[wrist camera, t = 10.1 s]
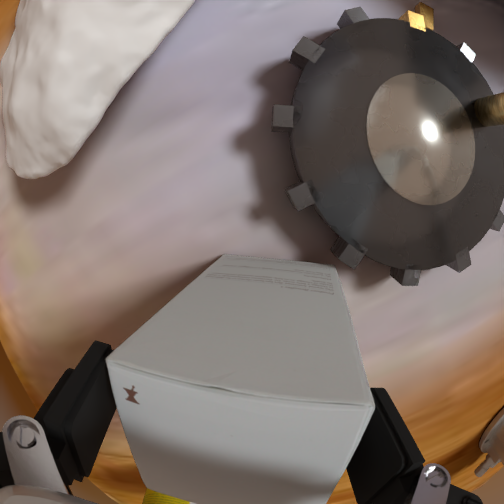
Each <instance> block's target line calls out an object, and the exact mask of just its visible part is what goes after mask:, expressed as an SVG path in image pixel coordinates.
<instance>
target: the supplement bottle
mask: <svg viewBox="0 0 504 504" xmlns="http://www.w3.org/2000/svg"><path fill="white" fill-rule="evenodd" d="M142 504H196V503H193V502H189V501H186V500H182V499H179V498H175V497H172V496H169V495H166V494H162V493H159V492H156V491H153V490H151V489H149V488H147V489H146V493H145V496H144V499H143V503H142Z"/></svg>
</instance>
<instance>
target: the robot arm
mask: <svg viewBox="0 0 504 504" xmlns="http://www.w3.org/2000/svg"><path fill="white" fill-rule="evenodd" d="M113 351H114V350H112V349H111V345H109V344H106V343H102V342H99V341H94V342H93V344H92V345H91V347H90V348H89V350H88V351H87V352H86V354H85V355H84V357H83V358H82V360H81V361H80V362H79V364H78V365H77V367H76V368H75V370H74V369H71V368H69V369H67V370H66V371H65V372H64V374H63V375H62V377H61V378H60V380H59V381H58V383H57V384H56V385H55V387H54V388H53V390H52V391H51V393H50V394H49V396H48V397H47V399H46V400H45V402H44V403H43V405H42V406H41V408H40V409H39V411H38V412H37V414H36V416H35V417H34V419H33V418H31V417H27V416H15V417H12V418H11V419H9V420H8V421H7V422H6V423H5V424H4V427H3V432H0V504H97V503H94V502H91V501H87V500H84V499H81V498H79V497H75V496H73V494H72V492H71V489H70V488H69V485H72V482H73V480H74V479H75V480H77V481H80V482H82V480H83V477H84V476H85V477H89V475H90V473H91V470H92V467H93V465H94V462H95V460H96V457H97V454H98V452H99V449H100V447H101V444H102V442H103V439H104V437H105V434H106V432H107V429H108V427H109V425H110V422H111V420H112V417H113V415H114V413H115V410H116V403H115V399H114V395H113V392H112V387H111V383H110V377H109V372H108V368H107V364H106V360H105V359H106V358H107V357H108V356H109V355H110V354H111V353H112V352H113ZM370 390H371V393H372V396H373V400H374V403H375V410H374V412H373V414H372V417H371V419H370V421H369V423H368V425H367V427H366V429H365V431H364V434H363V436H362V438H361V440H360V442H359V444H358V446H357V448H356V450H355V452H354V454H353V456H352V458H351V460H350V462H349V463H348V465H347V467H346V469H347V472H348V475H349V478H350V482H351V485H352V488H353V491H354V495H355V498H356V501H357V503H358V504H483V503H482V501H481V499H480V498H479V497H478V496H477V495H475V494H473V493H470V492H468V491H466V490H463V489H461V488H458V487H456V486H454V485H452V484H450V483H451V478H450V474H449V473H448V471H447V470H446V469H445V468H444V467H443V466H441V465H439V464H435V463H433V464H428V465H426V466H425V467H424V466H423V463H424V462H425V460H424V458H423V456H422V454H421V452H420V450H419V448H418V447H417V445H416V443H415V441H414V439H413V437H412V436H411V434H410V432H409V430H408V428H407V426H406V425H405V423H404V421H403V419H402V417H401V416H400V414H399V412H398V410H397V409H396V407H395V405H394V403H393V402H392V400H391V398H390V396H389V395H388V393H387V391H386V390H385V389H384V388H370ZM479 448H480V449H481V451H482V452H484V453H488V454H487V455H486V459H485V460H484V461H483V462H482V463H481V464H480V465H479V466H478V467H477V468H476V469H475V471H474V472H475V475H476V476H478V477H481V476H482V475H483V474H484V473H485V472H486V471H487V470H488V469H489V467H491V468H493V467H494V466H495V465H496V464H497V463H499V462H502V464H503V465H504V408H503V409H502V410H501V411H500V412H499V413H498V415H497V416H496V417H495V418H494V419H493V421H492V422H491V423H490V424H489V426H488V427H487V429H486V430H485V432H484V433H483V435H482V437H481V439H480V442H479Z"/></svg>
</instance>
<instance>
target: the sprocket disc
mask: <svg viewBox="0 0 504 504" xmlns="http://www.w3.org/2000/svg"><path fill="white" fill-rule="evenodd" d="M337 25H338V26H339V27H340V30H338V31H336V32H335V33H334V34H332V35H331V36H330V37H328V38H327V39H326V40H325V41H324V42H323V43H322V44H321V45H318V44H316V43H315V42H313V41H311V40H309V39H308V38H306V37H304V36H303V38H302V39H301V40H300V41H299V43H298V44H297V45H296V47H295V48H294V49H293V51H292V54H291V58H290V61H289V63H291V64H293V65H294V66H296V67H298V68H299V69H301V70H303V72H302V75H301V77H300V79H299V82H298V84H297V86H296V89H295V91H294V95H293V99H292V103H291V106H289V105H275V104H274V107H273V111H272V131H273V132H288V133H289V138H290V146H291V152H292V158H293V161H294V165H295V168H296V172H297V175H298V177H299V180H300V182H298V183H296V184H294V185H292V186H290V187H288V188H286V189H285V191H286V193H287V195H288V197H289V199H290V201H291V203H292V205H293V207H294V208H295V209H296V210H297V211H300V210H302V209H304V208H306V207H308V206H310V205H313V207H314V208H315V210H316V211H317V212H318V214H319V215H320V216H321V218H322V219H323V220H324V221H325V222H326V223H327V224H328V225H329V227H330V228H331V229H332V230H333V231H334V232H335V233H337V234H338V235H339V238H338V239H337V241H336V242H335V244H334V245H333V247H332V248H331V249H330V250H331V251H332V252H333V254H334V255H335V256H336V257H337V258H338V259H339V260H341V261H342V262H344V263H345V264H347V265H348V266H349V267H351V268H352V269H354V270H355V268H356V267H357V265H358V264H359V262H360V261H361V260H362V258H363V257H364V255H366V256H367V257H369V258H371V259H373V260H375V261H377V262H380V263H382V264H384V265H388V266H391V270H390V276H391V277H393V278H394V279H395V280H396V281H397V282H399V283H400V284H401V285H402V286H418V283H419V278H420V273H421V270H426V269H431V268H436V267H440V266H443V265H447V266H449V267H450V268H452V269H454V270H455V271H457V272H459V273H460V272H461V271H463V270H464V269H465V268H467V267H468V266H470V265H471V260H470V255H469V251H470V250H471V249H472V248H473V247H474V246H475V245H476V244H477V243H478V242H479V241H480V240H481V239H482V238H483V237H484V235H485V234H486V233H487V231H488V230H489V229H493V230H496V231H500V229H501V227H502V225H503V223H504V215H503V213H502V212H501V211H500V207H501V205H502V201H503V198H504V92H503V93H499V94H495V95H494V94H493V92H492V91H491V89H490V87H489V85H488V84H487V82H486V80H485V79H484V77H483V76H482V74H481V73H480V72H479V70H478V69H477V67H476V66H475V65H474V64H473V63H472V62H473V60H474V57H475V55H476V54H475V53H474V52H473V51H472V50H471V49H470V48H469V47H468V46H467V45H466V44H465V43H462V44H460V45H458V46H455V45H453V44H452V43H451V42H449V41H448V40H447V39H445V38H444V37H442V36H441V35H439V34H437V33H435V32H434V31H432V30H430V29H427V28H425V23H424V17H423V16H422V15H420V14H417V13H414V12H411V11H408V10H407V11H406V12H405V13H404V14H403V15H402V16H401V17H400V18H399V19H398V20H397V19H390V18H377V19H369V18H368V16H367V15H366V14H365V12H364V11H363V9H362V8H361V7H357V8H353V9H348V10H345V11H344V12H343V14H342V16H341V18H340V20H339V21H338V23H337Z"/></svg>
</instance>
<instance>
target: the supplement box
mask: <svg viewBox="0 0 504 504" xmlns="http://www.w3.org/2000/svg"><path fill="white" fill-rule="evenodd" d="M105 360H106V364H107V368H108V372H109V377H110V383H111V387H112V392H113V395H114V399H115V403H116V407H117V410H118V413H119V417H120V420H121V423H122V426H123V429H124V432H125V435H126V438H127V441H128V444H129V446H130V449H131V452H132V455H133V457H134V460H135V463H136V465H137V468H138V470H139V473H140V475H141V478H142V480H143V482H144V484H145V486H146V487H147V488H149V489H151V490H153V491H156V492H159V493H162V494H166V495H169V496H172V497H175V498H179V499H182V500H186V501H189V502H193V503H196V504H326V503H327V501H328V499H329V497H330V495H331V494H332V492H333V490H334V488H335V486H336V485H337V483H338V481H339V480H340V478H341V476H342V474H343V473H344V471H345V469H346V467H347V465H348V463H349V462H350V460H351V458H352V456H353V454H354V452H355V450H356V448H357V446H358V444H359V442H360V440H361V438H362V436H363V434H364V431H365V429H366V427H367V425H368V423H369V421H370V419H371V417H372V414H373V412H374V410H375V403H374V400H373V396H372V393H371V390H370V387H369V383H368V380H367V376H366V373H365V369H364V365H363V361H362V357H361V354H360V350H359V346H358V342H357V338H356V334H355V330H354V327H353V323H352V319H351V316H350V312H349V309H348V305H347V302H346V298H345V295H344V292H343V288H342V285H341V282H340V279H339V277H338V273H337V271H336V268H335V266H334V265H328V264H320V263H312V262H301V261H291V260H280V259H270V258H259V257H249V256H238V255H228V254H223V255H222V256H221V257H220V258H219V259H218V260H217V261H215V262H214V263H213V264H212V265H211V266H210V267H208V268H207V269H206V270H205V271H204V272H203V273H202V274H200V275H199V276H198V277H197V278H196V279H195V280H193V281H192V282H191V283H190V284H189V285H188V286H186V287H185V288H184V289H183V290H182V291H181V292H180V293H178V294H177V295H176V296H175V297H174V298H173V299H172V300H171V301H169V302H168V303H167V304H166V305H165V306H164V307H163V308H161V309H160V310H159V311H158V312H157V313H156V314H155V315H153V316H152V317H151V318H150V319H149V320H148V321H146V322H145V323H144V324H143V325H142V326H141V327H140V328H139V329H138V330H137V331H135V332H134V333H133V334H132V335H131V336H130V337H129V338H127V339H126V340H125V341H124V342H123V343H122V344H121V345H120V346H119V347H117V348H116V349H115V350H114V351H113V352H112V353H111V354H110V355H109V356H108V357H107V358H106V359H105Z"/></svg>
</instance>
